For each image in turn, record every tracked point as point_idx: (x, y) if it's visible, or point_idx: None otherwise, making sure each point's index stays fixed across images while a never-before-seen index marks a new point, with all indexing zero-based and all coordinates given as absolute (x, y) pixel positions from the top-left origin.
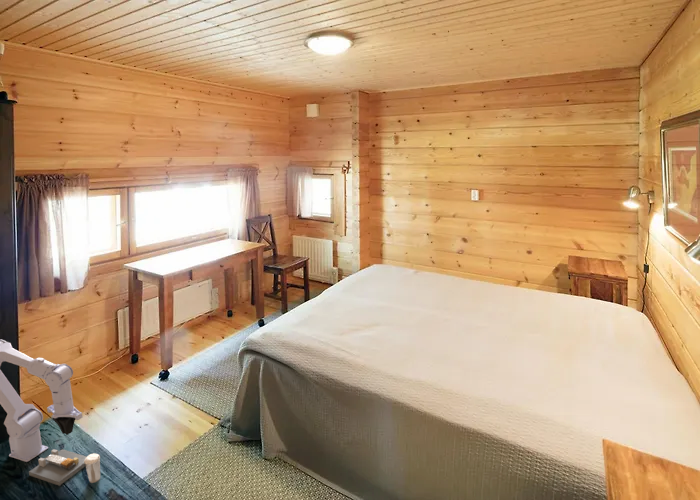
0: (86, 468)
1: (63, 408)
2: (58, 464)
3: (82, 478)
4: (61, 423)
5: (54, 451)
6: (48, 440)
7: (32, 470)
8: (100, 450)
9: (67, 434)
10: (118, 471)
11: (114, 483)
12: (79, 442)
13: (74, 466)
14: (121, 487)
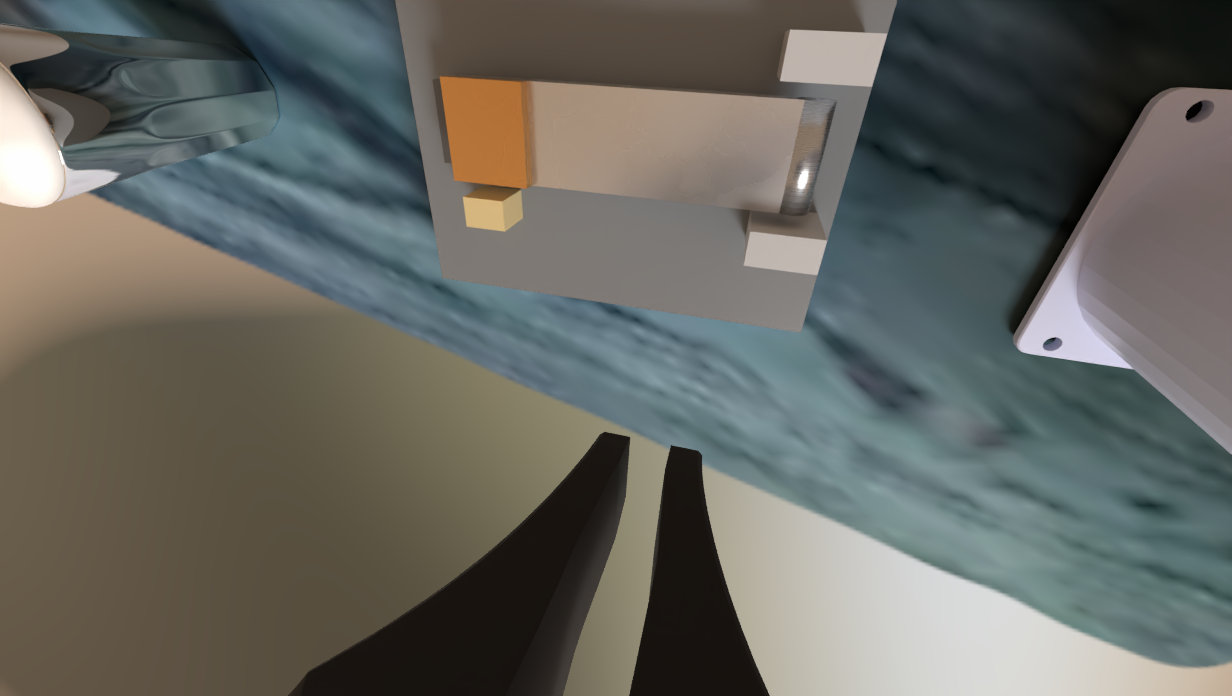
0: (44, 30)
1: None
2: (566, 82)
3: (331, 69)
4: (518, 657)
5: (772, 240)
6: (1102, 434)
7: None
8: (515, 374)
9: (598, 437)
10: (210, 216)
11: None
12: (751, 431)
13: None
14: None
